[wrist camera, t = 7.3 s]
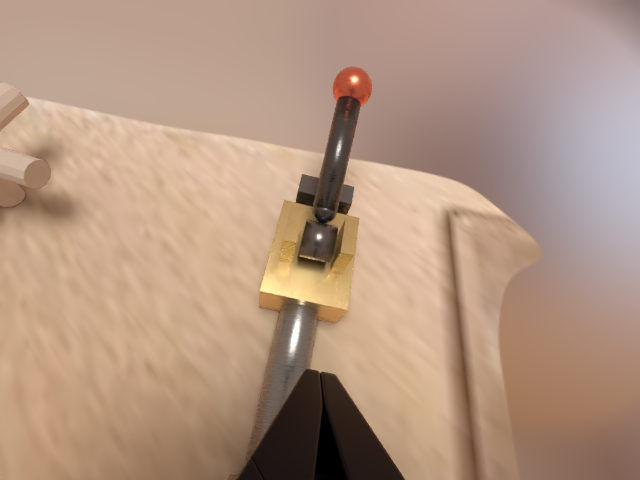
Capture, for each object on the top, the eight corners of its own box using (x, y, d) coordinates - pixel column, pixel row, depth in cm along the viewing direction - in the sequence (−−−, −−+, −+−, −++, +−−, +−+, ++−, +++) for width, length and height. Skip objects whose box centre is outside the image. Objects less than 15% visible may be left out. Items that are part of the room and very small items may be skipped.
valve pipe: (307, 524, 18) (331, 577, 12) (205, 507, 17) (182, 554, 12) (350, 217, 28) (374, 167, 22) (286, 201, 27) (295, 147, 22)
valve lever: (336, 263, 19) (380, 63, 21) (293, 254, 19) (340, 53, 20) (330, 264, 22) (369, 86, 23) (293, 255, 22) (334, 77, 23)
